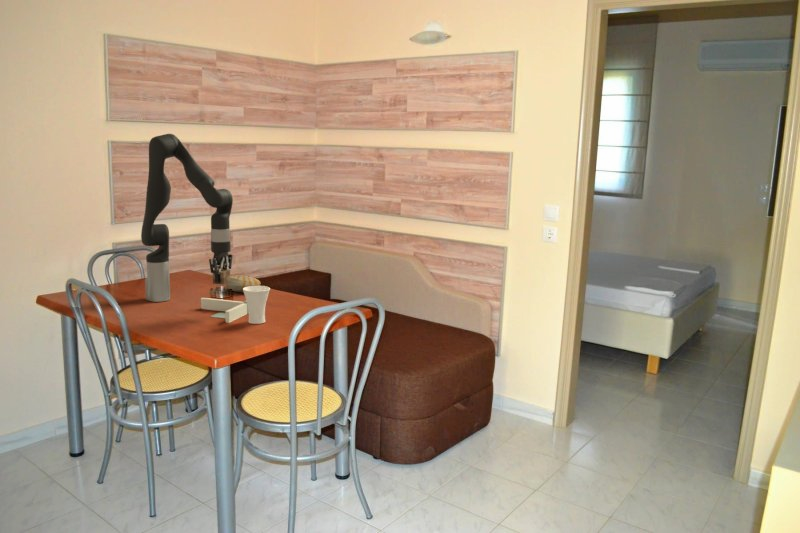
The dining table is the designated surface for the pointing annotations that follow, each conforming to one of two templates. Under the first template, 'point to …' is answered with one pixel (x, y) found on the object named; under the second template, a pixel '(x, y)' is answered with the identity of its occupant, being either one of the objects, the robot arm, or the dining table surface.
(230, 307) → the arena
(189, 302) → the dining table surface
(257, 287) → the cup
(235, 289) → the nautilus
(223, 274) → the block
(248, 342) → the dining table surface
